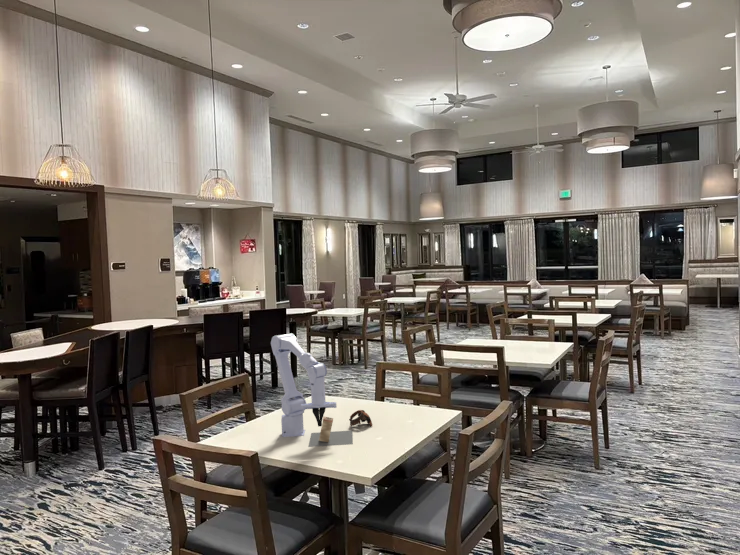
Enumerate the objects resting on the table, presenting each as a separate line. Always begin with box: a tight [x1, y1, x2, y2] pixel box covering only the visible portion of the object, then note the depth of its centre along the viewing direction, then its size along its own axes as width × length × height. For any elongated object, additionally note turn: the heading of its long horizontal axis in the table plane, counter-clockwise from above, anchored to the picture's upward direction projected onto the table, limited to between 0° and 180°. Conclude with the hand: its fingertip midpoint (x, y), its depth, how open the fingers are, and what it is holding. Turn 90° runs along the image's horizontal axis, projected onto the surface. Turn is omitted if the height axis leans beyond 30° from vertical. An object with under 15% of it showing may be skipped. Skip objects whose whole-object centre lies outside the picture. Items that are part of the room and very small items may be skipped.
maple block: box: [319, 416, 334, 442], centre depth 223 cm, size 4×4×9 cm
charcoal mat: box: [307, 430, 354, 448], centre depth 226 cm, size 18×18×1 cm
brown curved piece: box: [349, 409, 373, 427], centre depth 243 cm, size 12×10×8 cm
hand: (319, 425), depth 223 cm, fingers closed
